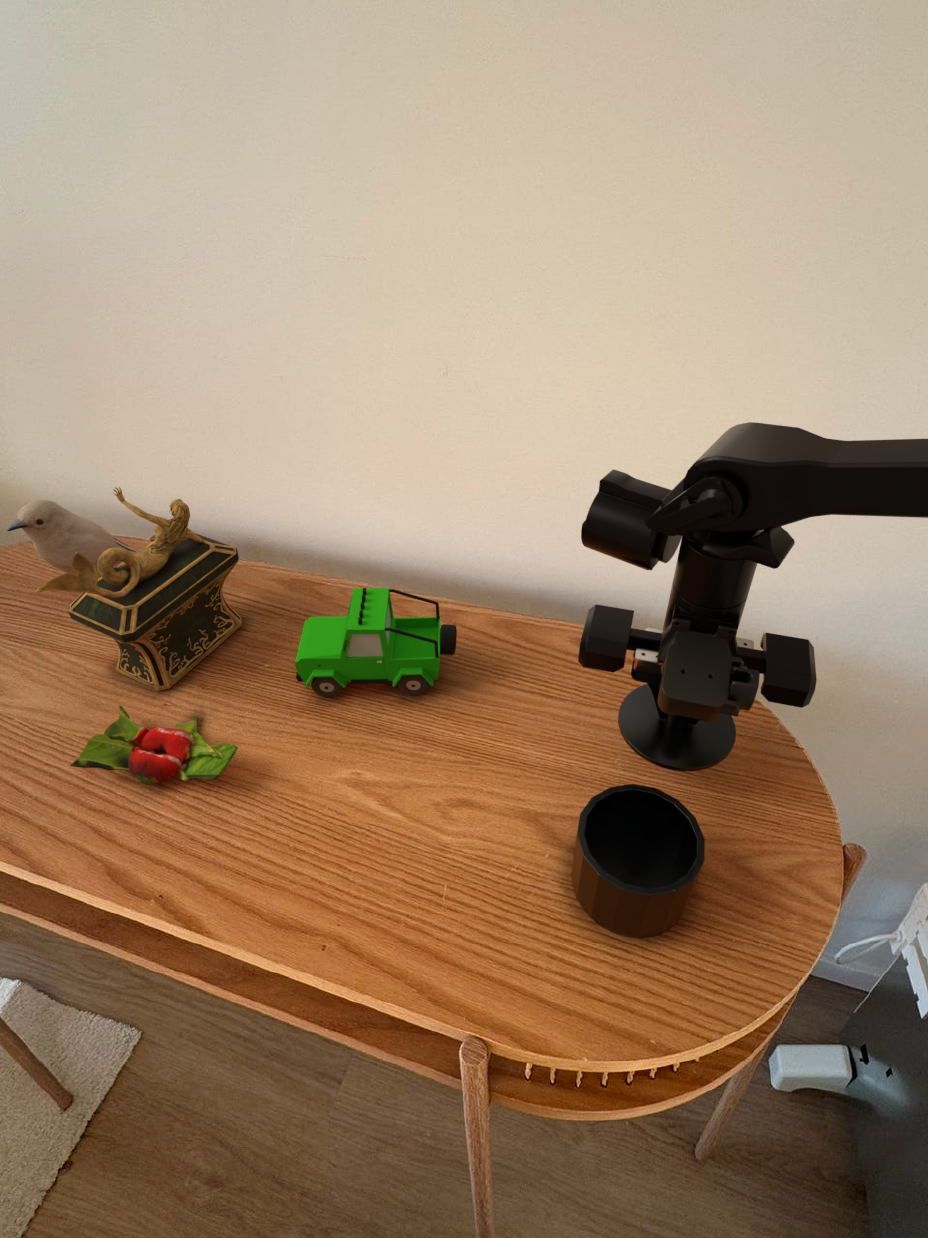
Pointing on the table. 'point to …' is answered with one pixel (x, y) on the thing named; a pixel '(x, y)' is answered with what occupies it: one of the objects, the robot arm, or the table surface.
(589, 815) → the pot
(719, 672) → the robot arm
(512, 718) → the table surface
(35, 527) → the bird
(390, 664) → the toy car
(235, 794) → the table surface
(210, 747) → the decorative ornament
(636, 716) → the lid
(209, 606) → the decorative box
